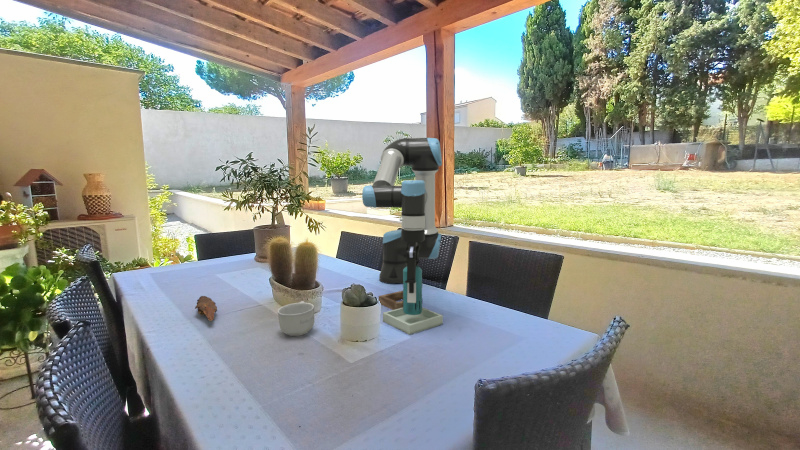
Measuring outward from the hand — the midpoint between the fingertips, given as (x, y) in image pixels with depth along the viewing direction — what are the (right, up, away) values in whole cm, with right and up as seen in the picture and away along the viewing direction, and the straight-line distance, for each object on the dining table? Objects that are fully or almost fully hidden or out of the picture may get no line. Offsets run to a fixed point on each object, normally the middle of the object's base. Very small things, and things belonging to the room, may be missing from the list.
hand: (412, 298), depth 125 cm
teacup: (-36, -9, -5) cm, 37 cm away
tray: (0, -8, +1) cm, 8 cm away
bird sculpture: (-70, -8, +7) cm, 71 cm away
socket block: (-4, -6, +19) cm, 21 cm away
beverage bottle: (0, -6, +1) cm, 6 cm away
